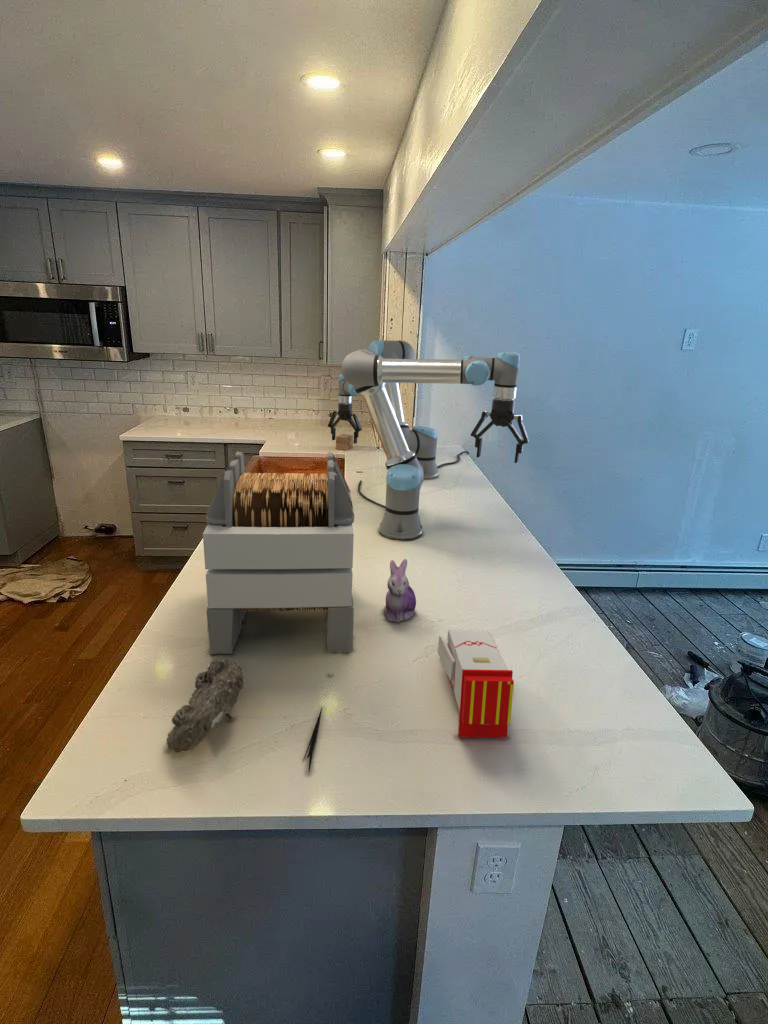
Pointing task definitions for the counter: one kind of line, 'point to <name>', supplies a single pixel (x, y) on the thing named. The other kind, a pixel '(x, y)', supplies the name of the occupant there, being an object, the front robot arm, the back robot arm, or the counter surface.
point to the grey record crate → (279, 550)
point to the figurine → (399, 594)
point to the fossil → (206, 705)
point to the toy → (478, 682)
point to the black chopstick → (313, 740)
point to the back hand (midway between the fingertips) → (344, 441)
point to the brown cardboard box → (344, 442)
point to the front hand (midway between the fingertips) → (497, 459)
